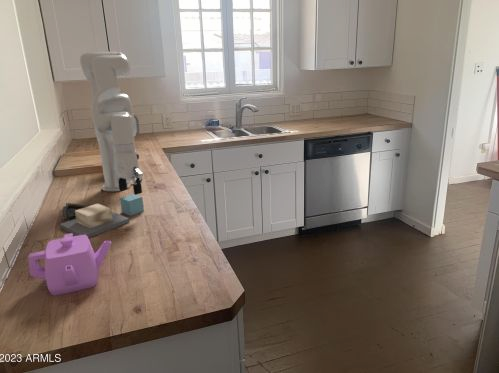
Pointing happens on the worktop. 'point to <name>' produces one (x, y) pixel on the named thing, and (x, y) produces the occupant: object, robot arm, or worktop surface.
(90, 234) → the stacking base
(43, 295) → the worktop surface
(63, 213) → the chocolate cake
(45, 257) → the teakettle
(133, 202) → the teal block
